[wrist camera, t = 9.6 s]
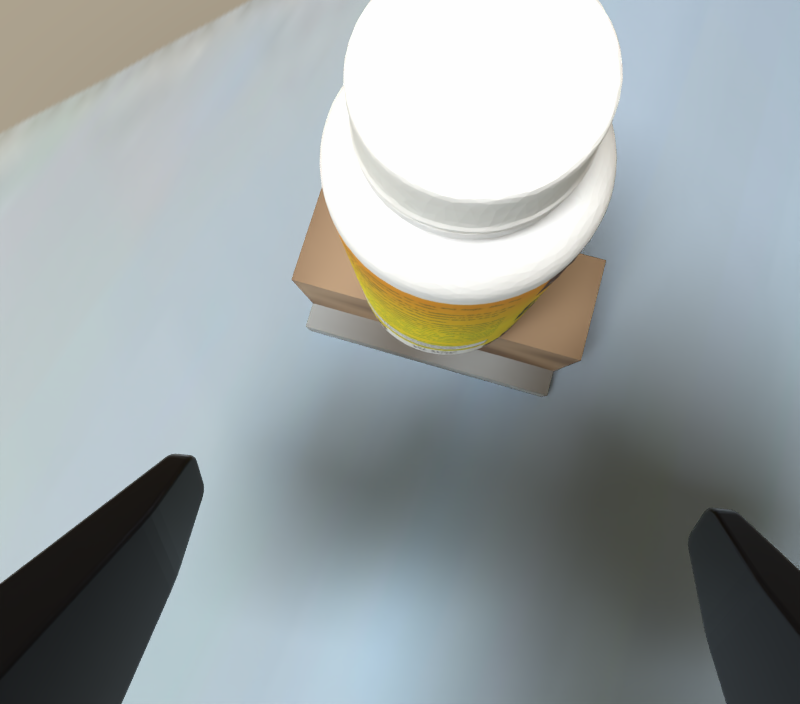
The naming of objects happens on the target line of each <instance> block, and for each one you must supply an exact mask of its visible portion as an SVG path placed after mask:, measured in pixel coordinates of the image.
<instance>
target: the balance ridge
mask: <svg viewBox="0 0 800 704" xmlns="http://www.w3.org/2000/svg"><path fill="white" fill-rule="evenodd" d="M605 263H606V260H603V259H599V258H595V257H591V256H587V255H584V254H580V253H579V255H578V256H577V257H576V259H575V260H574V262H572V263H571V264H570V265H569V266H568V267H567V268H566V269H565V270H564V271H563V272H562V273H561V275H560V276H559V277H558V278H557V279H556V280H555V281H553V282H552V284H551V285H550V286H549V287H548V288H547V289H546V290H545V291H544V292H543V294H542V295H541V296H540V297H539V298H538V299H537V300H536V301H535V302H534V304H533V305H532V306H531V307H530V308H529V309H528V310H527V311H526V312H525V313H524V314H523V315H522V316H521V317H520V319H519V320H518V321H517V322H516V323H515V324H514V325H513V326H512V327H511V328H510V329H509V330H508V331H507V332H506V333H505V334H503V335H502V336H501V337H499V338H498V339H496V340H495V341H493V342H491V343H490V344H488V345H486V346H484V347H482V348H479V349H476V350H474V351H470V352H467V353H462V354H453V355H441V354H433V353H428V352H424V351H421V350H418V349H415V348H413V347H411V346H408V345H406V344H404V343H403V342H401V341H400V340H398V339H397V338H395V337H394V336H393V335H391V334H390V333H389V332H388V331H387V330H386V329H385V328H384V327H383V326H382V325H381V323H380V322H379V321H378V320H377V318H376V316H375V315H374V313H373V311H372V309H371V308H370V306H369V304H368V302H367V300H366V297H365V294H364V292H363V290H362V287H361V285H360V283H359V281H358V279H357V276H356V274H355V271H354V269H353V267H352V265H351V262H350V260H349V257H348V255H347V253H346V250H345V248H344V246H343V243H342V241H341V239H340V237H339V234H338V232H337V230H336V227H335V225H334V223H333V221H332V218H331V216H330V213H329V210H328V207H327V204H326V201H325V197H324V193H323V188H322V189H321V192H320V195H319V198H318V201H317V204H316V207H315V210H314V213H313V216H312V219H311V222H310V225H309V228H308V231H307V234H306V237H305V240H304V243H303V246H302V249H301V252H300V255H299V259H298V262H297V265H296V268H295V271H294V274H293V277H292V281H293V282H294V283H295V284H296V285H297V286H298V287H299V288H300V289H301V290H302V292H303V293H304V294H305V295H306V296H307V297H308V298H309V299H310V300H311V301H312V303H313V305H312V308H311V311H310V315H309V318H308V321H307V324H306V327H307V328H308V329H309V330H311V331H314V332H317V333H321V334H324V335H328V336H331V337H335V338H338V339H342V340H345V341H349V342H352V343H356V344H359V345H362V346H366V347H369V348H373V349H376V350H380V351H383V352H387V353H390V354H394V355H397V356H401V357H404V358H408V359H411V360H415V361H418V362H422V363H425V364H429V365H432V366H436V367H439V368H443V369H446V370H450V371H453V372H457V373H460V374H464V375H467V376H471V377H474V378H478V379H481V380H484V381H488V382H491V383H495V384H498V385H502V386H505V387H509V388H512V389H516V390H519V391H523V392H526V393H530V394H533V395H537V396H540V397H543V396H547V394H548V390H549V386H550V383H551V379H552V375H553V371H555V370H558V369H560V368H563V367H565V366H568V365H570V364H573V363H576V362H578V361H581V358H582V354H583V350H584V346H585V342H586V338H587V334H588V330H589V326H590V322H591V318H592V314H593V310H594V306H595V302H596V298H597V294H598V290H599V286H600V282H601V279H602V275H603V271H604V267H605Z"/></svg>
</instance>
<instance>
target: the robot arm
mask: <svg viewBox="0 0 800 704" xmlns="http://www.w3.org/2000/svg"><path fill="white" fill-rule="evenodd" d="M203 493H204V484H203V480H202V477H201V474H200V470H199V467H198V464H197V461H196V458H194V457H193V456H191V455H184V454H171V455H169V456H167V457H165V458H164V459H163V460H162V461H160V462H159V463H158V464H156V465H155V466H154V467H152V468H151V469H150V470H148V471H147V472H146V473H145V474H143V475H142V476H141V477H139V478H138V479H137V480H135V481H134V482H133V483H131V484H130V485H129V486H127V487H126V488H125V489H124V490H122V491H121V492H120V493H118V494H117V495H116V496H114V497H113V498H112V499H110V500H109V501H108V502H107V503H105V504H104V505H103V506H101V507H100V508H99V509H97V510H96V511H95V512H93V513H92V514H91V515H89V516H88V517H87V518H86V519H84V520H83V521H82V522H80V523H79V524H78V525H76V526H75V527H74V528H72V529H71V530H70V531H69V532H67V533H66V534H65V535H63V536H62V537H61V538H59V539H58V540H57V541H55V542H54V543H53V544H52V545H50V546H49V547H48V548H46V549H45V550H44V551H42V552H41V553H40V554H38V555H37V556H36V557H34V558H33V559H32V560H31V561H29V562H28V563H27V564H25V565H24V566H23V567H21V568H20V569H19V570H17V571H16V572H15V573H14V574H12V575H11V576H10V577H8V578H7V579H6V580H4V581H3V582H2V583H0V704H122V701H123V699H124V697H125V695H126V692H127V690H128V688H129V686H130V683H131V681H132V679H133V676H134V674H135V672H136V670H137V667H138V665H139V663H140V661H141V658H142V656H143V654H144V651H145V649H146V647H147V645H148V642H149V640H150V638H151V636H152V633H153V631H154V629H155V626H156V624H157V622H158V620H159V617H160V615H161V613H162V611H163V608H164V606H165V604H166V601H167V599H168V597H169V595H170V592H171V590H172V588H173V585H174V583H175V580H176V578H177V575H178V572H179V569H180V566H181V564H182V560H183V557H184V554H185V551H186V548H187V545H188V542H189V538H190V535H191V532H192V529H193V526H194V523H195V520H196V516H197V513H198V510H199V507H200V504H201V501H202V497H203ZM688 547H689V553H690V558H691V563H692V569H693V574H694V579H695V584H696V589H697V594H698V599H699V604H700V609H701V614H702V619H703V624H704V629H705V633H706V637H707V641H708V644H709V648H710V652H711V655H712V658H713V661H714V665H715V668H716V671H717V674H718V678H719V681H720V684H721V687H722V691H723V694H724V697H725V700H726V703H727V704H800V570H799V569H798V568H797V567H795V566H794V565H793V564H792V563H791V562H790V561H789V560H788V559H787V558H786V557H785V556H784V555H783V554H782V553H780V552H779V551H778V550H777V549H776V548H775V547H774V546H773V545H772V544H771V543H770V542H769V541H768V540H767V539H766V538H764V537H763V536H762V535H761V534H760V533H759V532H758V531H757V530H756V529H755V528H754V527H753V526H752V525H751V524H749V523H748V522H747V521H746V520H745V519H744V518H743V517H742V516H741V515H740V514H738V513H737V512H735V511H733V510H729V509H719V508H709V509H707V510H706V511H705V512H704V513H703V515H702V516H701V518H700V520H699V521H698V523H697V524H696V526H695V527H694V529H693V530H692V532H691V534H690V536H689V541H688Z"/></svg>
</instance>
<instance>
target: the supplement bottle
mask: <svg viewBox="0 0 800 704" xmlns="http://www.w3.org/2000/svg"><path fill="white" fill-rule="evenodd" d="M622 80H623V73H622V59H621V51H620V45H619V42H618V38H617V35H616V32H615V29H614V27H613V25H612V22H611V21H610V19H609V17H608V16H607V14H606V12H605V10H604V8H603V6H602V5H601V3H600V2H599V1H598V0H371V1H370V2H369V4H368V5H367V6H366V8H365V9H364V11H363V13H362V14H361V16H360V18H359V20H358V21H357V23H356V25H355V28H354V30H353V33H352V35H351V38H350V41H349V43H348V48H347V53H346V56H345V66H344V85H343V86H342V88H341V89H340V91H339V93H338V95H337V96H336V98H335V100H334V102H333V104H332V106H331V109H330V111H329V114H328V117H327V120H326V123H325V126H324V130H323V134H322V140H321V149H320V174H321V184H322V188H323V193H324V197H325V201H326V204H327V207H328V210H329V213H330V216H331V218H332V221H333V223H334V225H335V227H336V230H337V232H338V234H339V237H340V239H341V241H342V243H343V246H344V248H345V250H346V253H347V255H348V257H349V260H350V262H351V265H352V267H353V269H354V271H355V274H356V276H357V279H358V281H359V283H360V285H361V287H362V290H363V292H364V294H365V297H366V300H367V302H368V304H369V306H370V308H371V309H372V311H373V313H374V315H375V316H376V318H377V320H378V321H379V322H380V323H381V325H382V326H383V327H384V328H385V329H386V330H387V331H388V332H389V333H390V334H391V335H393V336H394V337H395V338H397V339H398V340H400V341H401V342H403V343H404V344H406V345H408V346H411V347H413V348H415V349H418V350H421V351H424V352H428V353H433V354H441V355H453V354H462V353H467V352H470V351H474V350H476V349H479V348H482V347H484V346H486V345H488V344H490V343H491V342H493V341H495V340H496V339H498V338H499V337H501V336H502V335H503V334H505V333H506V332H507V331H508V330H509V329H510V328H511V327H512V326H513V325H514V324H515V323H516V322H517V321H518V320H519V319H520V317H521V316H522V315H523V314H524V313H525V312H526V311H527V310H528V309H529V308H530V307H531V306H532V305H533V304H534V302H535V301H536V300H537V299H538V298H539V297H540V296H541V295H542V294H543V292H544V291H545V290H546V289H547V288H548V287H549V286H550V285H551V284H552V282H553V281H555V280H556V279H557V278H558V277H559V276H560V275H561V273H562V272H563V271H564V270H565V269H566V268H567V267H568V266H569V265H570V264H571V263H572V262H574V260H575V259H576V257H577V256H578V255H579V253H580V252H581V251H582V250H583V248H584V247H585V246H586V244H587V243H588V242H589V241H590V239H591V238H592V236H593V234H594V233H595V231H596V230H597V228H598V226H599V224H600V222H601V221H602V219H603V217H604V214H605V212H606V210H607V207H608V204H609V202H610V199H611V195H612V191H613V187H614V182H615V175H616V161H617V155H616V143H615V134H614V130H613V125H612V120H613V118H614V115H615V113H616V109H617V106H618V103H619V100H620V93H621V87H622Z"/></svg>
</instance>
